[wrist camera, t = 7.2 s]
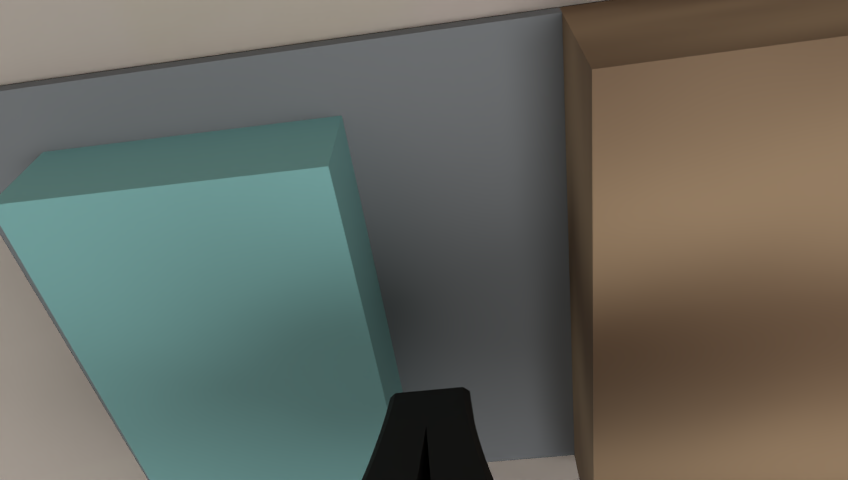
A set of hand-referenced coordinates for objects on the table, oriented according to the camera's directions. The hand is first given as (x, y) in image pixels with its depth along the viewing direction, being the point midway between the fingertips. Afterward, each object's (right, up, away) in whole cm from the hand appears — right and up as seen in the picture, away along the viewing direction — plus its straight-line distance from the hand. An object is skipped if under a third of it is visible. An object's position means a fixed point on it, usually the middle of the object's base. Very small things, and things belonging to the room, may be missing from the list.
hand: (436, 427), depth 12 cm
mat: (-3, +2, +4) cm, 5 cm away
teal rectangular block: (-4, +1, +2) cm, 5 cm away
